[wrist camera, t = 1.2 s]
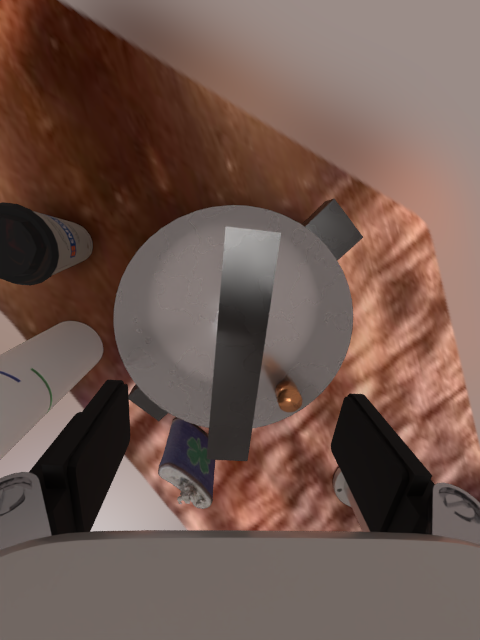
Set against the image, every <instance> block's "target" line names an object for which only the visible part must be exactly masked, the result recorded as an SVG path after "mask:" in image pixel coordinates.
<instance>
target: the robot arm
mask: <svg viewBox="0 0 480 640" xmlns="http://www.w3.org/2000/svg"><path fill="white" fill-rule="evenodd" d="M129 441H130V419H129V398H128V385H127V384H124V383H123V381H122V380H107V381H106V382H105V383H104V384H103V386H102V387H101V388H100V390H99V391H98V392H97V393H96V395H95V396H94V397H93V399H92V400H91V401H90V402H89V404H88V405H87V406H86V408H85V409H84V410H83V412H79V413H77V414H76V415H75V416H74V417H73V418H72V419H71V420H70V422H69V423H68V424H67V425H66V427H65V428H64V429H63V430H62V432H61V433H60V434H59V435H58V437H57V438H56V439H55V440H54V442H53V443H52V444H51V445H50V447H49V448H48V449H47V450H46V452H45V453H44V454H43V455H42V457H41V458H40V459H39V460H38V462H37V463H36V464H35V465H34V467H33V468H32V469H31V470H30V472H20V473H14V474H11V475H8V476H5V477H3V478H0V640H480V503H479V502H478V501H477V500H476V499H475V498H474V497H472V496H471V495H470V494H469V493H467V492H465V491H464V490H462V489H460V488H458V487H456V486H454V485H451V484H447V483H437V484H436V485H435V484H434V483H433V482H432V480H431V477H432V475H431V474H430V473H429V471H428V470H427V469H426V468H425V467H424V465H423V464H422V463H421V462H420V461H419V459H418V458H417V457H416V456H415V455H414V453H413V452H412V451H411V450H410V449H409V448H408V446H407V445H406V444H405V443H404V442H403V440H402V439H401V438H400V437H399V436H398V434H397V433H396V432H395V431H394V430H393V428H392V427H391V426H390V425H389V424H388V423H387V421H386V420H385V419H384V418H383V417H382V415H381V414H380V413H379V412H378V411H377V409H376V408H375V407H374V406H373V405H372V403H371V402H370V401H369V400H368V399H367V398H366V396H365V395H363V394H349V395H348V397H345V398H344V400H343V404H342V407H341V411H340V414H339V418H338V421H337V425H336V428H335V432H334V435H333V439H332V442H331V450H332V453H333V455H334V457H335V459H336V462H337V464H338V466H339V468H338V469H337V471H336V473H335V475H334V478H333V488H334V491H335V493H336V495H337V497H338V499H339V500H340V501H341V502H343V503H344V504H346V505H348V506H350V507H352V509H353V511H354V514H355V516H356V518H357V520H358V522H359V525H360V527H361V529H362V531H363V532H335V531H159V530H158V531H157V530H154V531H151V530H150V531H149V530H146V531H94V532H90V530H91V528H92V526H93V524H94V521H95V519H96V517H97V515H98V512H99V510H100V508H101V506H102V503H103V501H104V499H105V497H106V494H107V492H108V490H109V488H110V485H111V483H112V481H113V479H114V476H115V474H116V472H117V469H118V467H119V465H120V463H121V461H122V458H123V456H124V454H125V452H126V449H127V447H128V445H129Z"/></svg>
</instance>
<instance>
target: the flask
mask: <svg viewBox="0 0 480 640" xmlns="http://www.w3.org/2000/svg"><path fill="white" fill-rule="evenodd" d="M176 418H177V419H174V420H173V422H172V425H171V429H170V433H169V436H168V439H167V444H166V447H165V451H164V454H163V457H162V460H161V462H160V465H159V470H158V474H159V476H160V477H161V478H163V479H165V480H166V481H168V482H170V483H171V484H173V485H174V486H176V487H177V488H178V489H179V490H181V493H180V495H181V496H179V497H178V499H177V500H178V501H179V504H182V503H181V501H182V500H184V501H185V503H189V504H190V500H191V502H192V503H193V505H194V506H195V507H197V508H202V509H204V508H208V507H209V506H210V505H211V503H212V501H213V499H212V498H213V482H214V469H215V460H211V459H207V447H208V435H207V434H206V433H205V432H204V431H202V430H201V429H200V428H199V427H198V426H196V425H195V424H192V423H189V422H186V421H184V420H182V419H180V418H178V417H176Z"/></svg>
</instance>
